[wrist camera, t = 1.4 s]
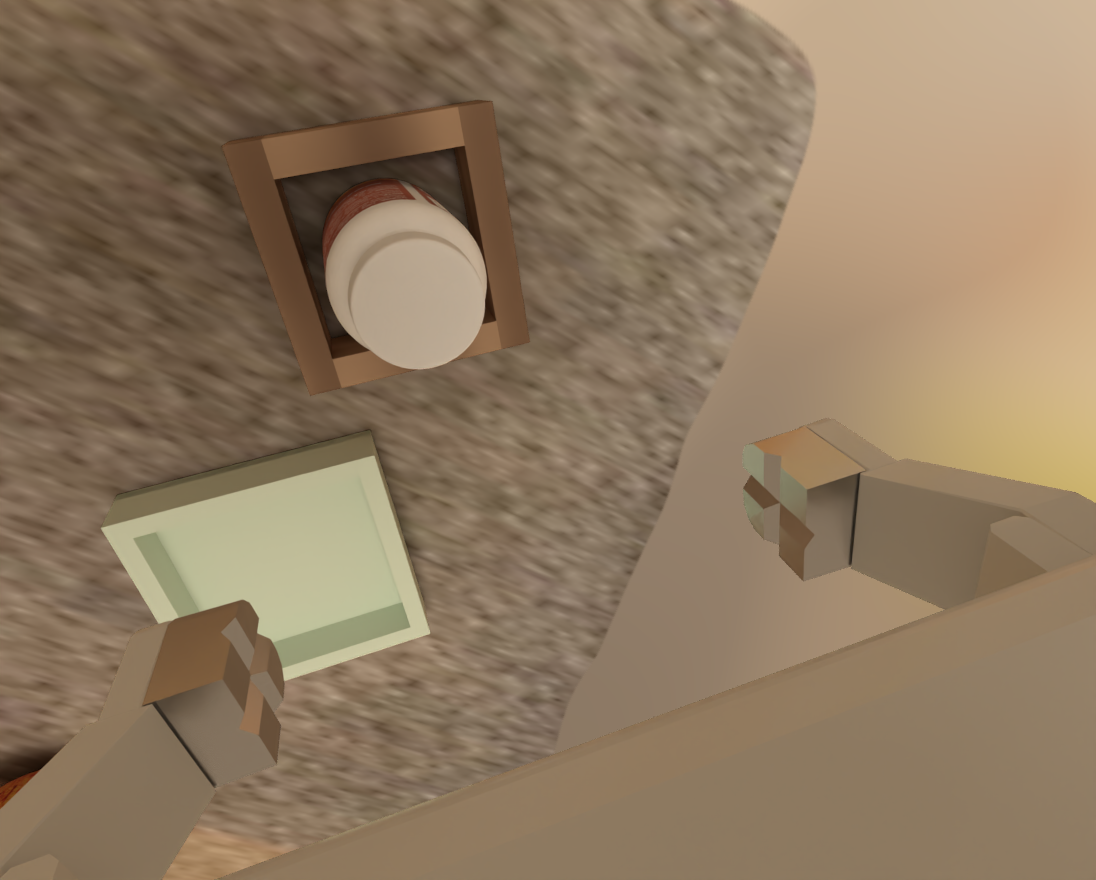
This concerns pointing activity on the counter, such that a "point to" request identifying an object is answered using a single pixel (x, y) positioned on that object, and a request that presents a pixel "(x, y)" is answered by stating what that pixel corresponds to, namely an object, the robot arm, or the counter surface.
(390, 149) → the collar
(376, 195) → the pill bottle
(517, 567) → the counter surface
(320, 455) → the tray
